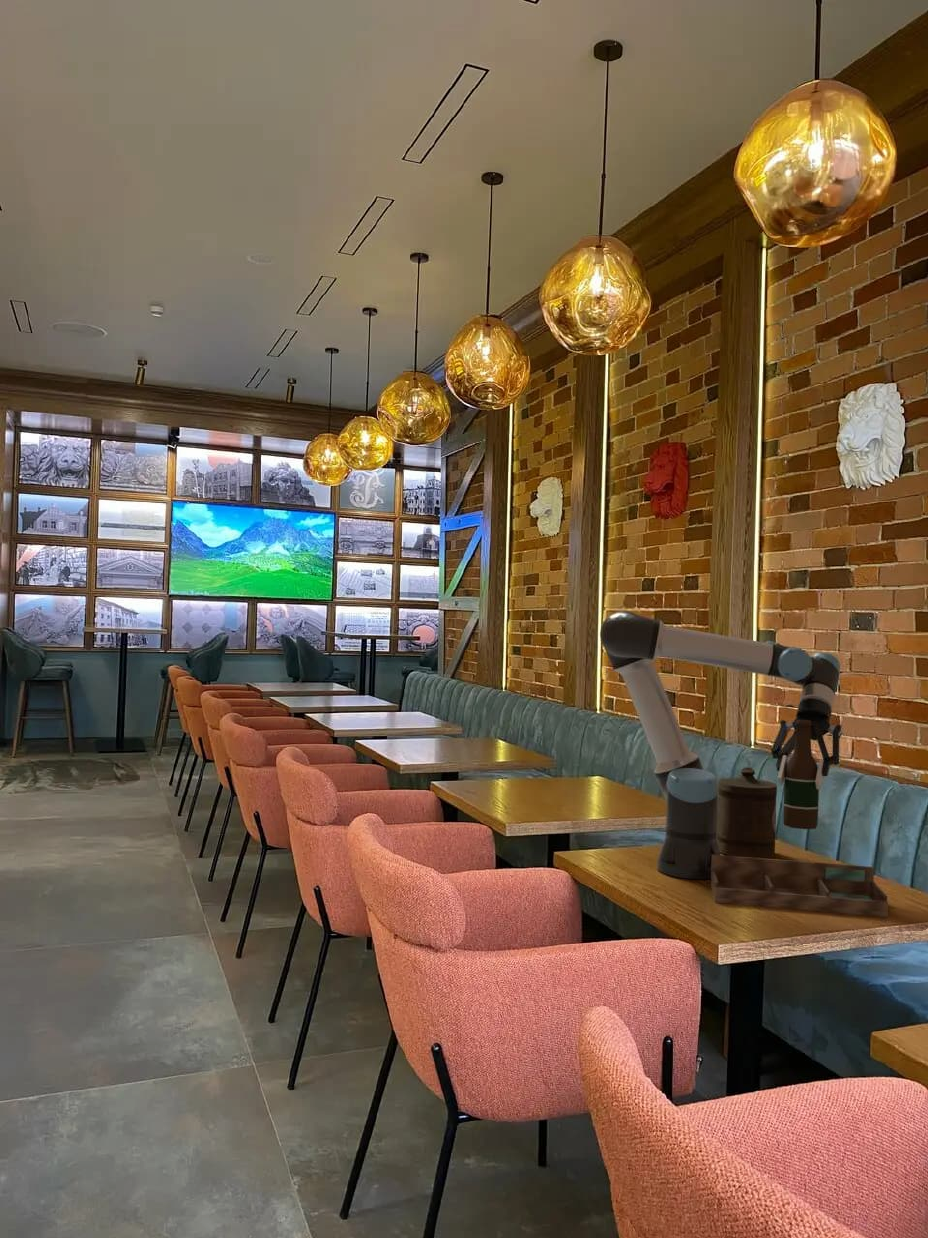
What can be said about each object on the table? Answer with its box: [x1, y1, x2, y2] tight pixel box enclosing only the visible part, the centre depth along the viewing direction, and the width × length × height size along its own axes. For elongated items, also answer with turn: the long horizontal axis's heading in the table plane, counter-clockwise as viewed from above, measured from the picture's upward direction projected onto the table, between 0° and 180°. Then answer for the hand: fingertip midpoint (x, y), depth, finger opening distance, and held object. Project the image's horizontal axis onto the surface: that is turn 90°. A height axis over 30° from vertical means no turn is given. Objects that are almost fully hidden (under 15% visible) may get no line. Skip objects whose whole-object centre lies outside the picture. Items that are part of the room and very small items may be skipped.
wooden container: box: [716, 766, 778, 859], centre depth 243 cm, size 15×15×22 cm
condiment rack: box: [710, 854, 889, 918], centre depth 199 cm, size 34×13×7 cm, turn 79°
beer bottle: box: [782, 720, 820, 830], centre depth 213 cm, size 8×8×24 cm
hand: (798, 783), depth 210 cm, fingers closed on beer bottle, 7 cm apart
